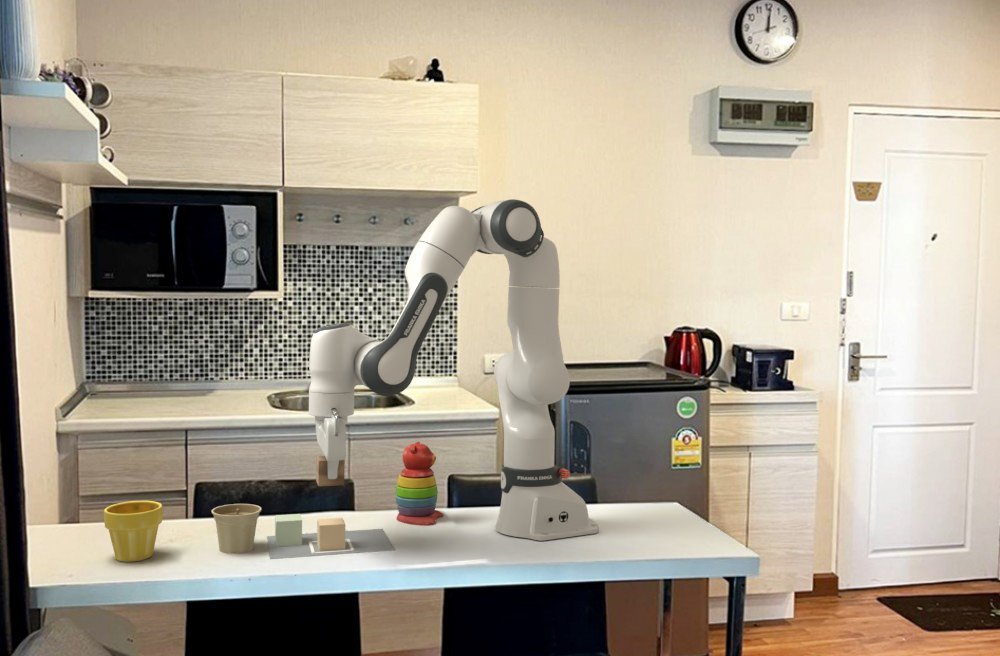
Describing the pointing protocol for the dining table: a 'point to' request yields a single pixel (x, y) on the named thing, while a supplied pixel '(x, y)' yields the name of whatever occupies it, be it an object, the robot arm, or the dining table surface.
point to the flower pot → (236, 527)
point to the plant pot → (133, 528)
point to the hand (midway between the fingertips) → (330, 475)
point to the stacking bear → (417, 487)
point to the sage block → (288, 530)
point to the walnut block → (322, 472)
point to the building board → (355, 536)
